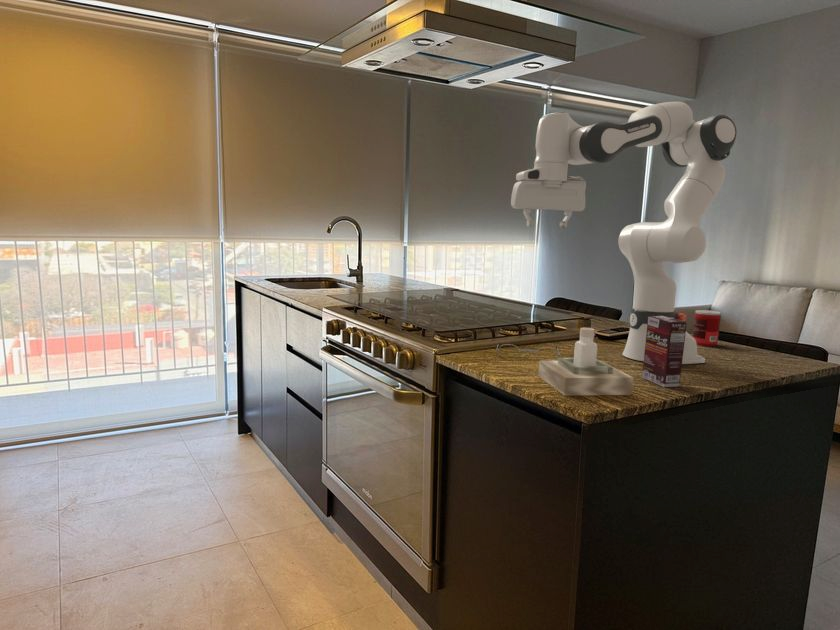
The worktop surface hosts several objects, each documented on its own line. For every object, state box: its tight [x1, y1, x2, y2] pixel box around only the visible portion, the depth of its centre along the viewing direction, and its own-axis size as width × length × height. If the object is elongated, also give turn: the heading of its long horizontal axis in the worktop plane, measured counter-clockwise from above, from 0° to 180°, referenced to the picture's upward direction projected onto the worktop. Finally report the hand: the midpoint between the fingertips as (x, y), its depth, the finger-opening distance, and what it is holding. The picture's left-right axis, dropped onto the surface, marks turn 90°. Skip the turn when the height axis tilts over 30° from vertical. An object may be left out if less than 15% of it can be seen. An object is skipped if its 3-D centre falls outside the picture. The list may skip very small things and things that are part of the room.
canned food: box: [692, 309, 722, 347], centre depth 193 cm, size 8×8×11 cm
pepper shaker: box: [573, 327, 598, 366], centre depth 135 cm, size 4×4×10 cm
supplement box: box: [641, 316, 687, 388], centre depth 141 cm, size 9×5×16 cm, turn 16°
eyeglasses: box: [495, 343, 561, 361], centre depth 171 cm, size 18×19×4 cm
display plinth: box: [538, 357, 634, 397], centre depth 136 cm, size 16×16×6 cm
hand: (546, 227), depth 158 cm, fingers open, 8 cm apart
